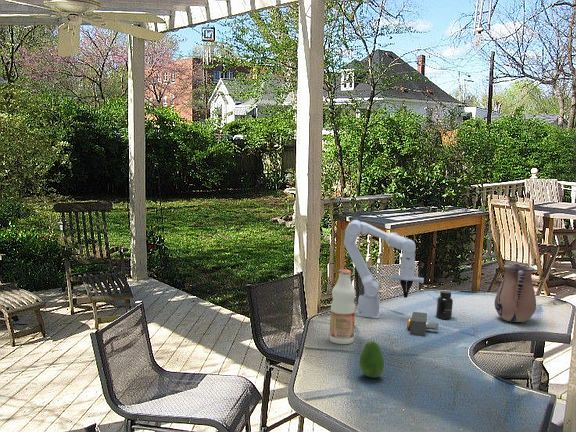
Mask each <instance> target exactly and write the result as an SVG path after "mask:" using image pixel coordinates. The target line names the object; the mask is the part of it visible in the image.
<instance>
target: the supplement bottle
mask: <svg viewBox="0 0 576 432" xmlns="http://www.w3.org/2000/svg"><path fill="white" fill-rule="evenodd" d="M451 297H452V291H448V290H441V291H440V292H439V296H438V297H437V301H436V313H435V317H436V318H437V319H439V320H444V321H446V320H451V319H452V316H453V315H452V313H453V305H454V304H453V301H454V300H453V298H451Z"/></svg>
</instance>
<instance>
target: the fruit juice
mask: <svg viewBox="0 0 576 432" xmlns="http://www.w3.org/2000/svg"><path fill="white" fill-rule="evenodd" d="M337 272H338V277H337V278H338V279H337V282H336V283H335V285H334V287H333V288H332V291H331V296H332V301H331V305H330V317H329V337H328V338H329V340H330V342H331V343H334V344H338V345H349V344H352V343H353V342H354V337H355V336H354V335H355V319H356V318H355V317H356V304H355V299H356V289H355V287H354V286H353V283H352V279H351V275H352V270H350V269H346V268H345V269H344V268H342V269H338V271H337Z"/></svg>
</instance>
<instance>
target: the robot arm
mask: <svg viewBox="0 0 576 432" xmlns="http://www.w3.org/2000/svg"><path fill="white" fill-rule="evenodd" d="M360 234H361V235H367V234H370V235H372V236H374V237H376V238H379V239H382V240H384V241H385V244H386V245H388V246H391V247H393V248H395V249H397V250H401V251H402V256H401V261H400V263H401V265H400V275H399V274H397V275H395V274H390V277H389V281H399V283H400V285H401V289H402V292H403V298H405V299H407V298H408V296H409V295H408V294H409V292H410V289H411V288H412V286H413V283H421V284H424V282H425V281H424V280H425V278H424V277H420V276H419V277H418V276H415V275H414V274H415V261H416V258H415V255H416V250H417V248H416V243H415V241H414V240H412V239H410V238H408V237H406V236H405V237H403V236H401V235H399V234H398V233H397V232H390V233H388V232H386V231H384V230H382V229H379V228H378V227H375V226H374V225H372V224H370V223H367V222H365V221H361V220H359V219H352V220H351V221H350V222H349V223H348V224H347V226H346V227H345V230H344V239H343V245H344V247H345V249H346V251H347V252H348V255H349V257H350V259H351V261H352V263H353V265H354V267H355V269H356V271H357V273H358V275H359V277H360V279H361V282H362V286H363V288H364V289H363V290H364V293H363V294H360V295H359V296H358V301H357V317H361V318H362V317H363V318H370V319H379V317H380V316H381V312H380V299H381V298H380V296H381V295H380V294H379V290H380V287H381V286H380V283H379V281H377V280H376V279H375V277H374V276H373V275H372V273H371V271H370V269H369V268H368V266H367V263H366V261H365V259H364V258H363V256H362V253H361V251H360V249H359V247H358V246H357V244H356V241H357V239H358V236H359V235H360Z"/></svg>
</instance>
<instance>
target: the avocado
mask: <svg viewBox="0 0 576 432" xmlns="http://www.w3.org/2000/svg"><path fill="white" fill-rule="evenodd" d="M384 367H385V360H384V357H383V353H382V351H381V348H380V346H379V344H378V343H377V342H375V341H372V340H371V341H368V342H366V343H365V345H364V348H363V349H362V351H361V354H360V357H359V368H360V370H361V373H362V374H363V375H364V376H366V377H367V378H374V379H375V378H378V377H379V376H381V375H382V373H383V371H384Z"/></svg>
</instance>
